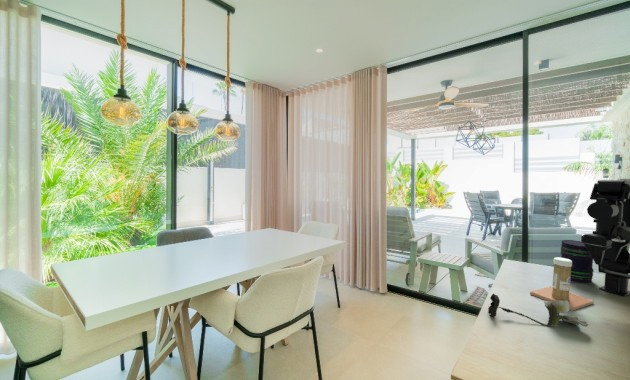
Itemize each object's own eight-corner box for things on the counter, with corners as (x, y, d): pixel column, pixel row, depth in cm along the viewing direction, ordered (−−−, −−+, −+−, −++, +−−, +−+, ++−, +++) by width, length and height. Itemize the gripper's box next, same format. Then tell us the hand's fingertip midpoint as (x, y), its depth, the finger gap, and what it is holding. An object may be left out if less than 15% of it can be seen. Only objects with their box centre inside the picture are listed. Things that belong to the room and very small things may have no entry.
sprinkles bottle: (568, 302, 87) (570, 262, 86) (549, 297, 90) (552, 258, 89) (570, 298, 90) (573, 259, 89) (553, 293, 93) (555, 256, 92)
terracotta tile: (550, 288, 99) (550, 286, 99) (593, 303, 88) (593, 300, 88) (530, 294, 95) (530, 291, 95) (572, 310, 84) (573, 307, 83)
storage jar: (557, 278, 109) (559, 242, 108) (560, 272, 116) (562, 238, 115) (592, 286, 102) (595, 247, 101) (593, 279, 108) (595, 243, 107)
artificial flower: (484, 311, 86) (488, 280, 87) (575, 338, 76) (578, 302, 77) (490, 317, 78) (494, 282, 79) (592, 348, 68) (596, 308, 69)
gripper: (631, 223, 77) (626, 275, 78) (659, 219, 84) (655, 267, 85) (581, 217, 88) (578, 263, 89) (610, 214, 95) (607, 257, 96)
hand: (605, 263), depth 89 cm, fingers open, 9 cm apart
